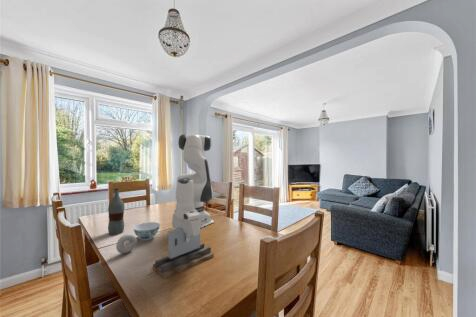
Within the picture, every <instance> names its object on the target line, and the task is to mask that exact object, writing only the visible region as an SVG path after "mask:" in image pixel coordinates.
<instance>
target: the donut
mask: <svg viewBox="0 0 476 317" xmlns="http://www.w3.org/2000/svg"><path fill="white" fill-rule="evenodd" d="M127 241H129V243H128V245H126V246H125V243H126V242H127ZM137 242H138V240H137V237H136V236H135V235H134V234H132V233H126V234H124V235H121V236H120V238H119V239H118V240H117V241H116V245H115V247H116V250H117V252H118V253H120V254H123V255H124V254H125V255H126V254H128V253H130V252H131V251H133V250H134V248H135V247H136V245H137Z"/></svg>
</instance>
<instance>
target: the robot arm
mask: <svg viewBox="0 0 476 317" xmlns="http://www.w3.org/2000/svg"><path fill="white" fill-rule="evenodd" d="M212 144H213V142H212V138H211V136H209V135H205V134H203V135H202V134H185V133H184V134H181V135H179V137H178V139H177V145H178V148H179V149H180V150H182V152H183V153H182V157H183V161H185V163H186V165H187V166H188V168H189V169H190V170H191V171H193V172H194V173H183V174H179V175H178V177H177V178H176V188H175V199H176V204H175V210H174V211H173V214H172V221H171V225H172V228H174V229H178V228H182V229H183V232H184V233H186V238H185V242H189V241H190V236H192V237H195V236H198V235H199V234H200V235H201V229H203V228H204V226H205V227H207V226H209V224H210V225H212V224H214V223H215V221H214V220H213V219H212V218H211V214H210V213H209V212H207V211H206V209H207V206H206V205H203V203H209V202H210V201H211V200H213V197H214V190H213V186H212V180H213V179H212V176H211V174H210V168H209V167H210V166H209V163H208V159H207V158H205V156H204V152H209V151H210V150H211V148H212ZM211 223H212V224H211Z"/></svg>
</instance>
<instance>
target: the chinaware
mask: <svg viewBox="0 0 476 317" xmlns="http://www.w3.org/2000/svg"><path fill="white" fill-rule="evenodd" d="M160 225H161V224H160V223H159V222H155V221H149V222H143V223H142V222H141V223H139V224H137V225H134V227H133V232H134V234H135V235H136V236H137V238H139V239H141V241H150V240H152V239H153V238H154V236H155V235H156V234H157V233H158V232H159V230H160V227H161V226H160Z"/></svg>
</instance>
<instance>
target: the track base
mask: <svg viewBox="0 0 476 317" xmlns="http://www.w3.org/2000/svg"><path fill="white" fill-rule="evenodd" d="M213 257H214V252H212V248H211V246H206V247H205V243H203V242H201V243H200V248H197V249H195V250H192V251H190V252H187V253H184V254H182V255H179V256H177V257H174V258H172V259H170V258H169V257H168V255H167V256H165V257H162V258H160V259H159V258H158V259H156V260H155V261H154V263H153V264H152V269H154V270H155V271H156V273H157V272H158V274H159V275H160V276H161V277H162V278H164V279H167V278H170V277H172V276H174V275H177V274H178V273H180V272H183V271H184V270H187V269H189V268H192V267H194V266H196V265H197V264H200V263H202V262H204V261H207V260H209V259H212V258H213Z"/></svg>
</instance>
